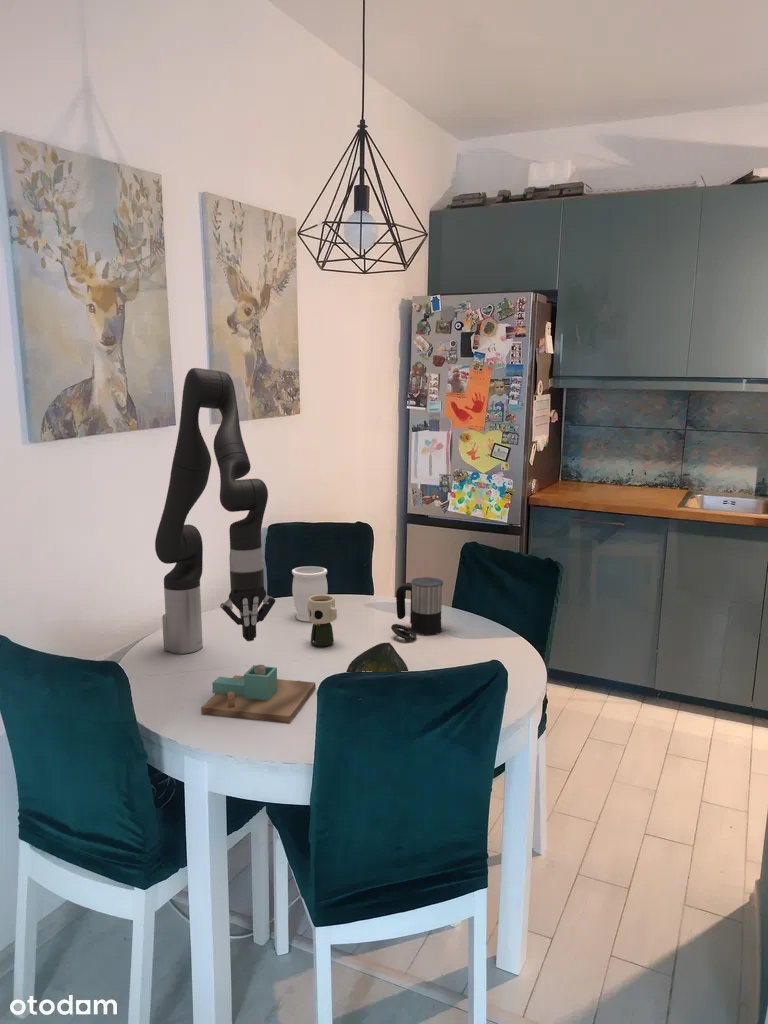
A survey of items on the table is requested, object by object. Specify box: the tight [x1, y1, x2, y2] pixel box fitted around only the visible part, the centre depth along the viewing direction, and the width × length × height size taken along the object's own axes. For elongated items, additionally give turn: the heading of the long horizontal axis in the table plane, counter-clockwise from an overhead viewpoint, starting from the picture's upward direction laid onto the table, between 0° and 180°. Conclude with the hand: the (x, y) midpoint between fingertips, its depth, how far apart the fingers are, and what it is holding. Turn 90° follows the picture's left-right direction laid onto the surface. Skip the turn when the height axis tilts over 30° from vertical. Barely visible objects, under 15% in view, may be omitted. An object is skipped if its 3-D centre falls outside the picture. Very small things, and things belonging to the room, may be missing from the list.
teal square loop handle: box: [211, 665, 278, 701], centre depth 164 cm, size 14×6×6 cm, turn 78°
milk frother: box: [390, 576, 444, 641], centre depth 207 cm, size 14×16×15 cm
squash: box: [346, 642, 409, 672], centre depth 160 cm, size 14×15×15 cm
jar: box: [291, 565, 329, 623], centre depth 221 cm, size 11×10×15 cm
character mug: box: [307, 594, 338, 647], centre depth 199 cm, size 11×7×13 cm, turn 49°
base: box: [200, 664, 317, 724], centre depth 163 cm, size 20×18×8 cm
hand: (249, 640), depth 169 cm, fingers closed
